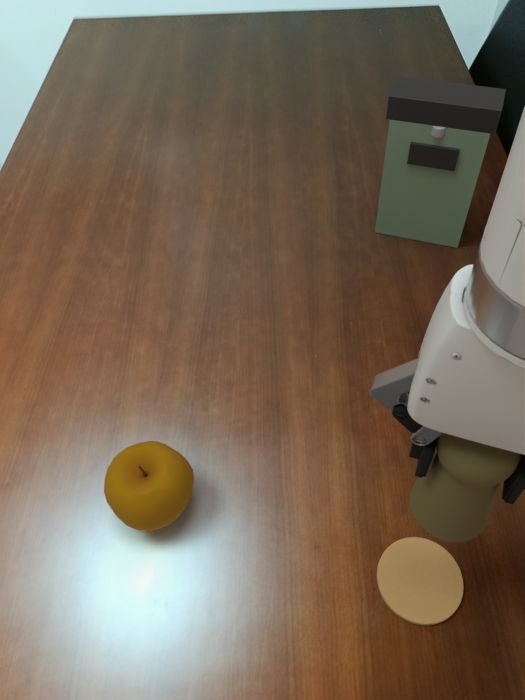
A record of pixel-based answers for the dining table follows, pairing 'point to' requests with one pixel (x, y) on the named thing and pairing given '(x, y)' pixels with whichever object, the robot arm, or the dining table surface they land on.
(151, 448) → the apple
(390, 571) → the cork mat
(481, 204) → the dining table surface
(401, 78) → the green box with lid
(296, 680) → the dining table surface
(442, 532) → the pepper shaker
